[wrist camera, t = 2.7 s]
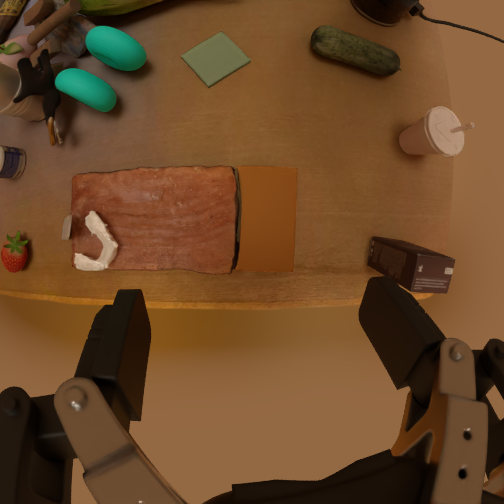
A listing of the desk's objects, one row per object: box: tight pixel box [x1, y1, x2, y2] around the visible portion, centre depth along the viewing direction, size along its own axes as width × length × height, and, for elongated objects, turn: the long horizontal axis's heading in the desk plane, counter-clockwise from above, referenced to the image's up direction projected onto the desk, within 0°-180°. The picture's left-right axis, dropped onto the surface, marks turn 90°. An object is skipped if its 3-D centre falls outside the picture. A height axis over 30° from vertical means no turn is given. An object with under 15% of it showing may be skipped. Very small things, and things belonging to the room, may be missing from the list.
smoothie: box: [399, 106, 475, 157], centre depth 28 cm, size 6×6×14 cm
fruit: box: [1, 230, 28, 273], centre depth 34 cm, size 5×5×8 cm
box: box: [367, 237, 455, 294], centre depth 32 cm, size 6×4×12 cm
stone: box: [34, 1, 97, 58], centre depth 25 cm, size 17×5×10 cm
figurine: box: [13, 49, 61, 146], centre depth 25 cm, size 11×7×15 cm
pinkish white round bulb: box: [0, 35, 38, 70], centre depth 25 cm, size 9×8×10 cm
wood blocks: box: [24, 0, 81, 144], centre depth 25 cm, size 25×3×10 cm
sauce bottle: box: [0, 0, 27, 45], centre depth 24 cm, size 6×6×20 cm
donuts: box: [55, 26, 146, 112], centre depth 27 cm, size 10×10×10 cm
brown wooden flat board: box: [71, 165, 297, 275], centre depth 34 cm, size 13×30×3 cm, turn 89°
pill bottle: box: [0, 145, 26, 179], centre depth 29 cm, size 5×5×9 cm
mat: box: [181, 31, 251, 88], centre depth 32 cm, size 7×7×1 cm
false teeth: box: [74, 211, 118, 271], centre depth 32 cm, size 8×6×2 cm
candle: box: [0, 61, 45, 121], centre depth 24 cm, size 7×7×15 cm
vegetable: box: [311, 25, 401, 76], centre depth 30 cm, size 14×5×5 cm, turn 79°
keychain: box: [62, 215, 72, 240], centre depth 32 cm, size 10×1×3 cm
